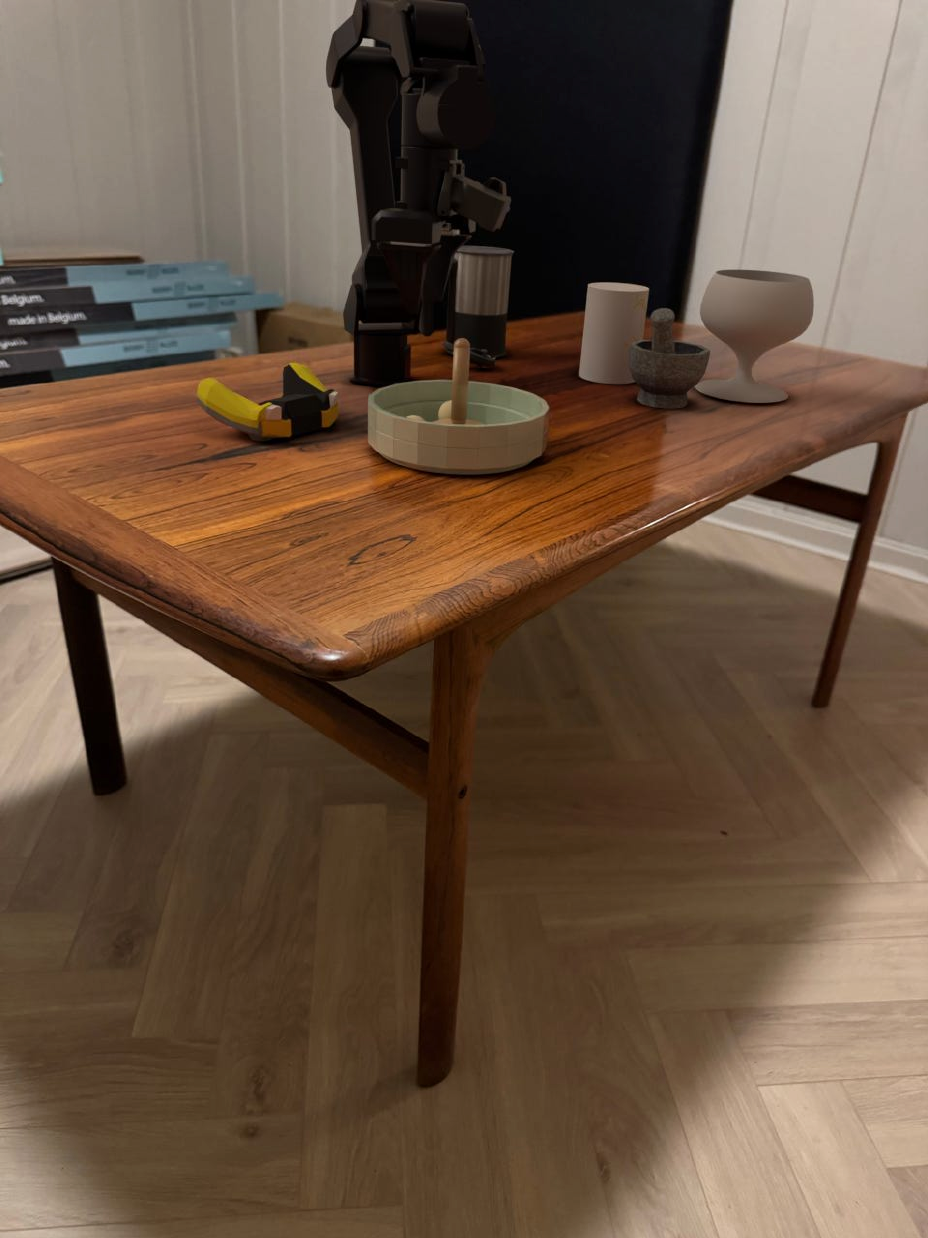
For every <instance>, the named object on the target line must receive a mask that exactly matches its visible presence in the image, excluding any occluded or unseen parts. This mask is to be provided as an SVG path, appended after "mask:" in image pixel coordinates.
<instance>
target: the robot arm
mask: <svg viewBox="0 0 928 1238" xmlns="http://www.w3.org/2000/svg"><path fill="white" fill-rule="evenodd" d="M469 16H470V11H469V9H468V7H467V5H466V4H464V2H463V3H462V2H454V1H443V0H355V3H354V7H353V11H352V14H351V15H350V16H349V17H348V18H347V19H346V20H345V21H344V22H343V23H342V24H341V25H339V26H338V27H337V28H336V29H335V30H334V31H333V32H332V35H331V38H330V44H329V48H328V51H327V56H326V60H325V61H326V62H325V78H326V84H327V87H328V88H329V89H331V96H332V102H333V108H334V110H335V111H336V112H335V113H337V115H338V116H339V117H340V119H341V120H342V122H343V123H344V125H345V126H346V127H347V129H348V130H349V138H350V146H351V156H352V168H353V176H354V185H355V187H354V188H355V197H356V207H357V217H358V226H359V227H358V228H359V236H360V237H359V238H360V247H361V254H360V256H359V259H358V261H357V262H356V263H357V264H356V265H355V268H354V269H353V272H352V274H351V285H350V286H349V290H348V293H347V298H346V300H345V303H344V308H343V312H342V317H343V328H344V330H345V331H346V332H347V333H349V334H350V335H351V336H352V337H353V376H350V377H348V381H349V383H353V384H361V385H370V386H379V387H386V386H390V385H393V384H398V383H406V381H408V380H409V379H411V378H412V376H411V375H412V374H411V371H412V369H411V367H412V366H411V365H412V345H411V344H409V343H408V335H413V336H414V335H418V330H419V321H420V314H421V307H422V302H423V296H422V290H423V284H424V278H425V277H426V281H427V285H428V289H429V292H430V296H431V299H432V301H433V303H441V302H442V301H443V299H444V295H445V292H446V288H447V284H448V282H449V274H450V270H451V266H452V263H453V260H454V256H455V253H456V251H457V250H458V249H459V248H460V247H461V246H464V245H465V244H466V243H467V242H468V241H470V240H471V238H472V235H469V234H471V233H475V232H476V224H478V227H480V228H482V229H484V230H486V231H489V232H495V231H496V230H500V229H501V227H502V225H503V222H504V220H505V218H506V215H507V213H509V212H510V210H511V206H510V205H511V202H512V197H511V196H509V195H508V196H507V183H506V182H505V181H503V180H502V179H498V178H496V177H494V176H493V177H489V178H488V179H487V180H486V181H485V182H484V183H483V184H482V183H481V182H479V181H478V180H477V181H475V180H473V179H471V178H469V177H467V176H465V163H463V160H462V159H458V150H465V151H470V150H475V149H476V148H479V147H480V146H482V145H483V144H484V143H486V142H487V140H488V139H489V137H490V136H491V134H492V132H493V129H494V128H495V123H496V113H497V111H496V108H495V105H494V101H493V98H492V96H491V94H490V92H489V90H488V89H487V88H486V87H485V86H484V85H483V84H481V83H484V81H485V69H486V65H487V63H486V60H485V57H484V54H483V50H482V49H481V44H480V42H479V39H478V36H477V33H476V32H477V31H476V26H475V22H474V20H473V19H472V18H471V17H469ZM364 39H367V40H374V41H375V42H379V43H381V44H384V45H386V46H389V47H390V48H391V49H390V48H389V47H382V46H381V47H380V46H369V45H362V43H363V40H364ZM403 78H407V79H406V80H405V81H403V83H402V79H403ZM401 83H402V84H401ZM400 85H401V86H400ZM399 89H400V95H401V149H400V150H401V154H400V155H401V156H395V158H394V159H395V160H394V161H395V162H394V169H400V200H398V201H396V200H395V191H394V181H393V179H394V178H393V171H392V160H391V159H392V158H391V149H390V148H391V147H390V139H389V127H388V119H389V117H390V115H391V113H392V111H393V109H394V107H395V104H396V102H397V99H398V97H399ZM460 231H463V232H464V233H467V234H460Z"/></svg>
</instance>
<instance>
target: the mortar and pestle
mask: <svg viewBox="0 0 928 1238" xmlns="http://www.w3.org/2000/svg"><path fill="white" fill-rule="evenodd" d="M649 318H650V319H649V321H650V323H651V324H652V328H651V329H652V330H651V334H652V335H651V339H643V340H638V341H635V342H633V343H631V344H630V346H629V354H628V357H629V369H630V372H631V375H632V377H633V379H634V381H635V382H634V383H636V384H637V386H638V387H639V388H640V389H639V391H638V393H637V398H636V401H637V402H638V403H639V404H641V405H644V406H647V407H651V408H656V409H667V410H668V409H669V410H673V409H682V408H684V407H685V406H687V405H688V392H689V391H690V390H692V389H693V388H695V385H697V384H698V383H699V382H701V379H703V377H704V375H705V373H706V371H707V367H708V365H709V362H710V355H711V350H710V349H709V348H707V347H705V346H703V345H701V344H696V343H691V342H687V341H682V340H681V341H680V340H675V332H674V321H675V319H676V316H675V313H674V311H673V310H672V309H670V308H667V307H664V308H663V307H662V308H661V307H660V308H657V309H655V310H654V311H652V312H651V315H650V316H649Z"/></svg>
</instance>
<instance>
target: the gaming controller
mask: <svg viewBox="0 0 928 1238" xmlns="http://www.w3.org/2000/svg"><path fill="white" fill-rule="evenodd" d="M339 396H340V393H339V392H337V390H335V389H333V388H329V389H327V388H326V387H325V385H323V383H322V382H321V381H320V380H319V379H318V377H317V376H316V375H315V374H314V372H313V371H312V370H311V368H309V367H308V366H306V365H304V364H302V363H300V362H295V361H293V362H290V363H288V364H286V365H285V366H283V371H282V395H281V397H277V398H271V399H268V400H264V401H262V402H259V403H256V402H254V401H252V400H250V399H248V398H246V397H244V396H242V395H241V394H239V393H237V392H234V391H232V390H231V389H230V388H229V387H227V386H225V385H224V384H223V383H221V382H220V381H218V380H216V379H214V378H212V377H207V378H204V379H203V380H201V381H199V384H198V386H197V392H196V402H197V404H198V405H199V406H200V407H201V408H202V410H203V411H204V412H205V413H206V414H207V415H209V417H212V418H213V419H214V420H215V421H217V422H219V423H221V424H223V425H225V426H228V427H230V428H232V429H235V430H237V431H239V432H242V433H245V434H247V435H248V437H249V438H250V440H252V441H256V442H269V441H271V440H273V439H282V438H290V437H294V436H298V435H301V434H305V433H310V432H313V431H317V430H320V429H321V430H322V429H323V428H330V427H331V426H332V425H333V424H334V422H335V421H336V420H337V418H338V417H339V403H338V399H339Z"/></svg>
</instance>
